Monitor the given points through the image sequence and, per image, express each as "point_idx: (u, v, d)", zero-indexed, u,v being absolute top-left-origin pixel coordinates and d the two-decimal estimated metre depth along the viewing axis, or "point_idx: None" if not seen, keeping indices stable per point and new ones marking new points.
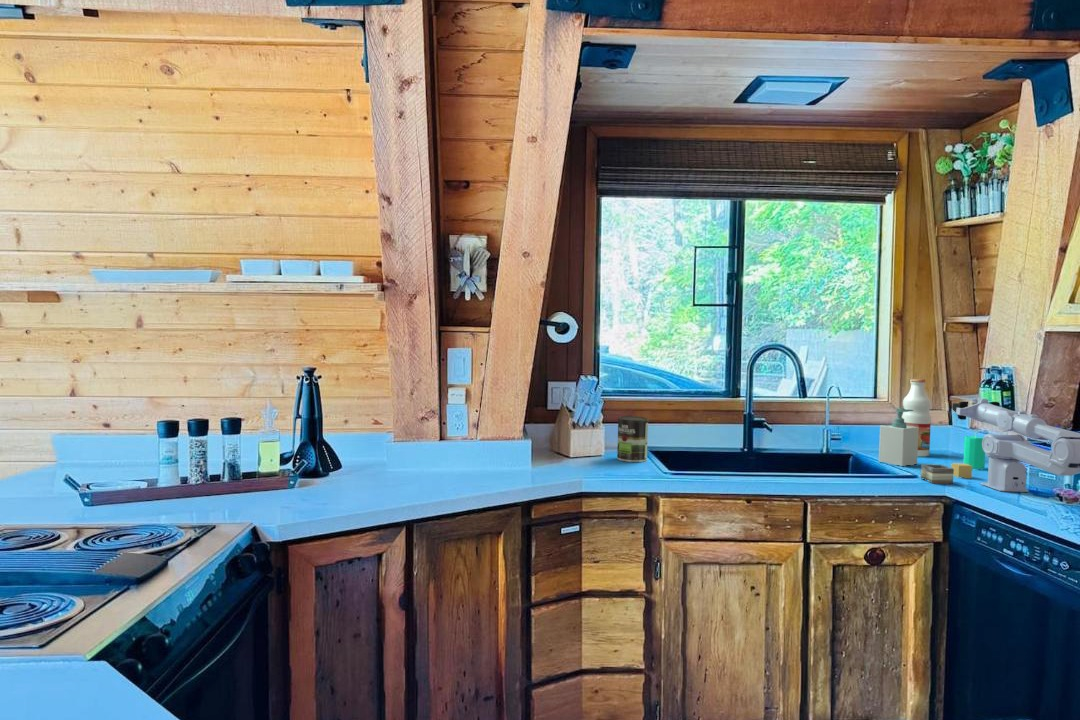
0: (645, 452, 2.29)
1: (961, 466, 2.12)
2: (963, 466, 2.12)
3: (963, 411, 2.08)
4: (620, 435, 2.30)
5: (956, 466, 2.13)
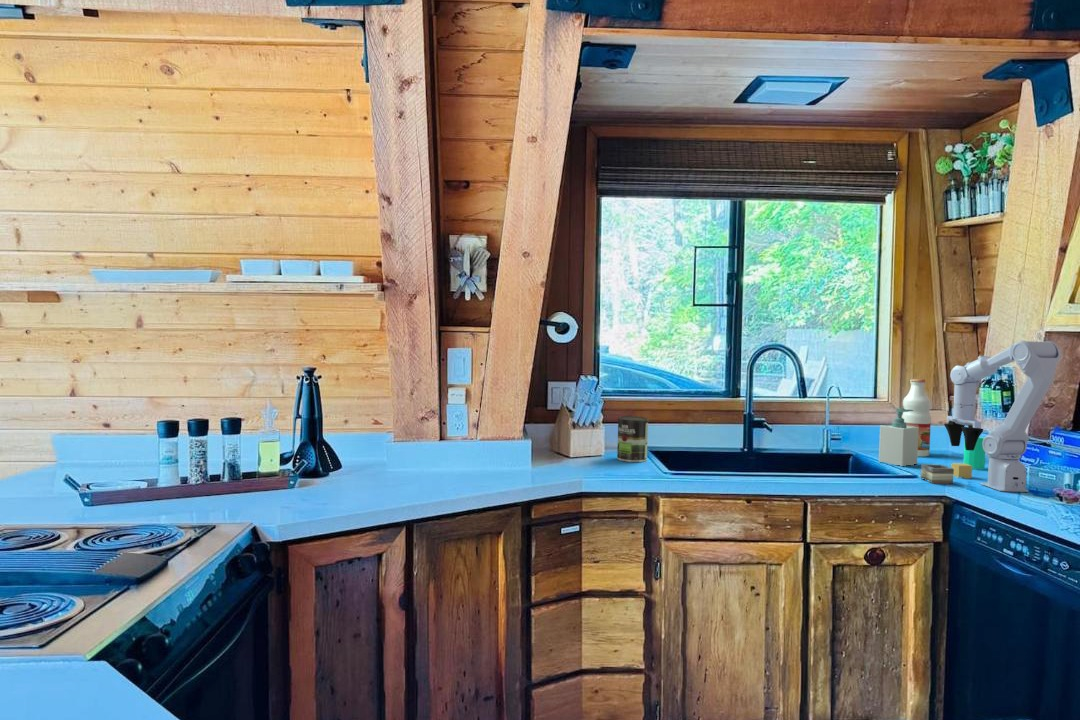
0: (645, 452, 2.29)
1: (961, 466, 2.12)
2: (963, 466, 2.12)
3: (975, 422, 2.07)
4: (620, 435, 2.30)
5: (956, 466, 2.13)
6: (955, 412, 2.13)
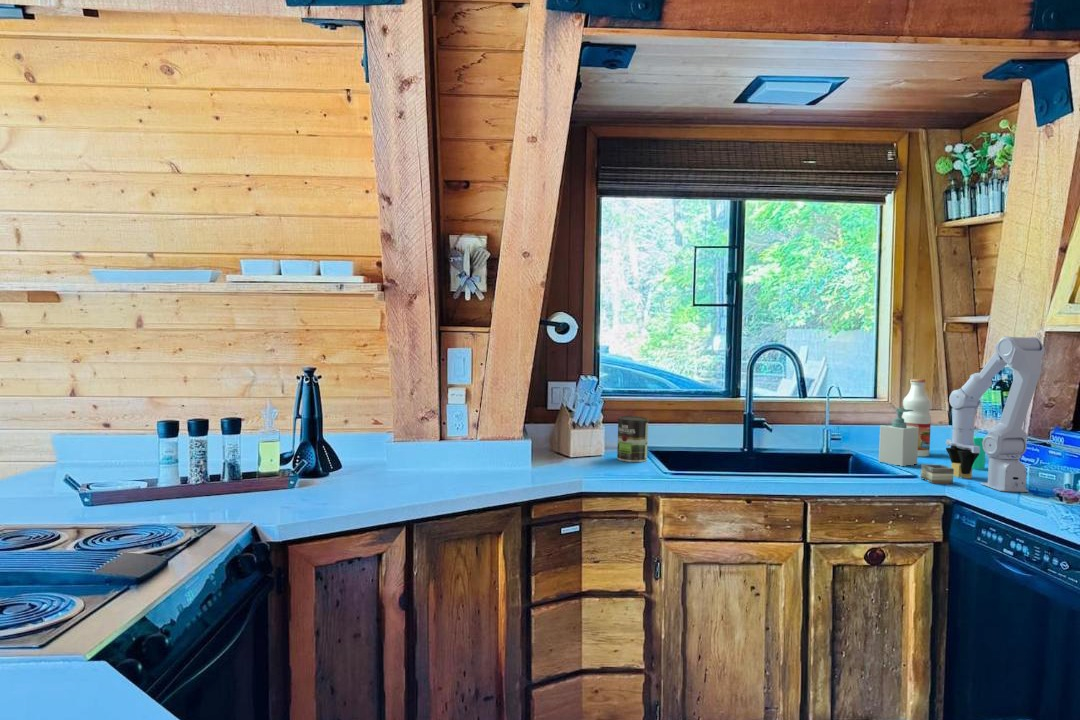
0: (645, 452, 2.29)
1: None
2: None
3: (974, 446, 2.07)
4: (620, 435, 2.30)
5: (956, 466, 2.13)
6: (954, 436, 2.13)
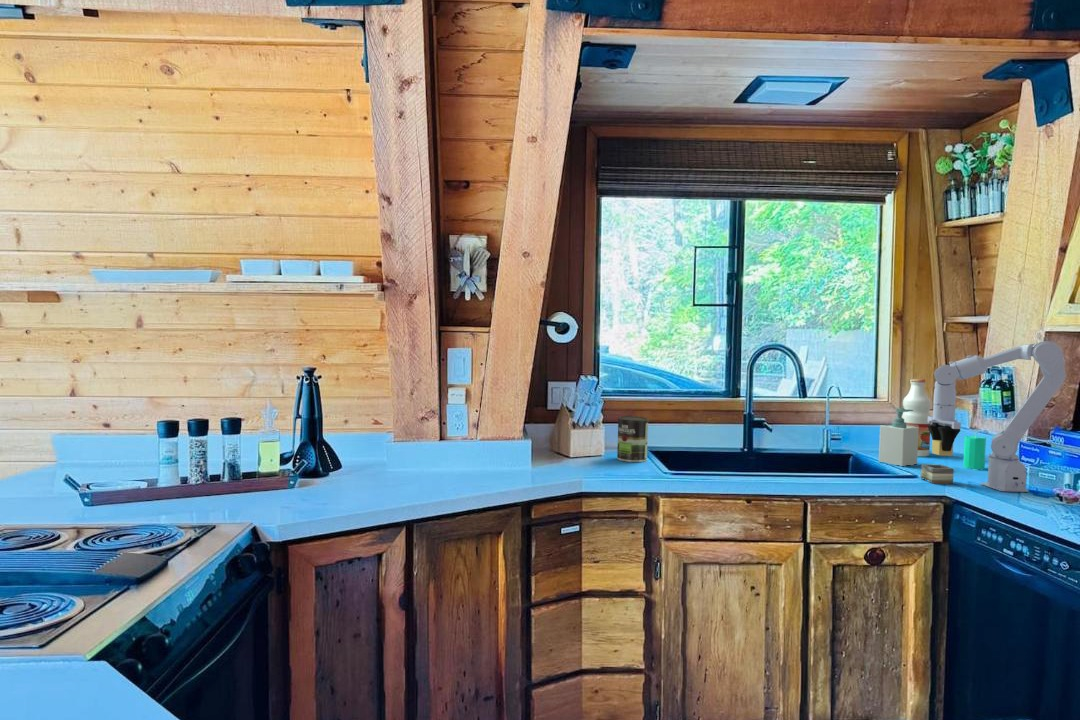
0: (645, 452, 2.29)
1: None
2: None
3: None
4: (620, 435, 2.30)
5: (937, 443, 2.06)
6: (935, 412, 2.06)
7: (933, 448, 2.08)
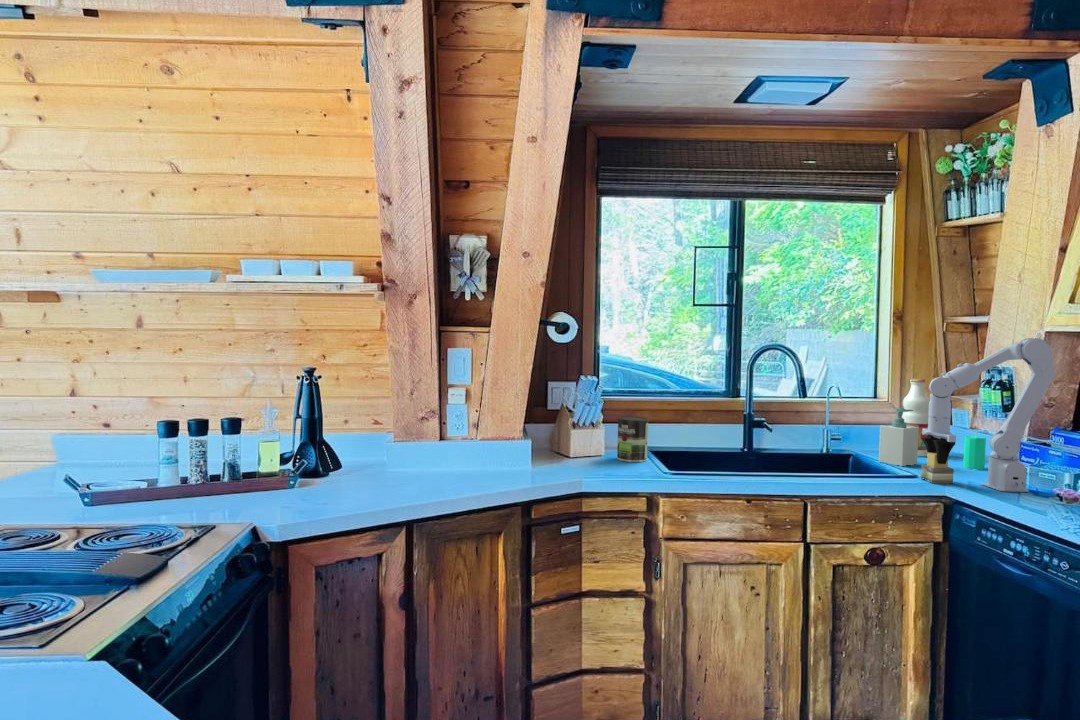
0: (645, 452, 2.29)
1: None
2: None
3: None
4: (620, 435, 2.30)
5: (932, 455, 2.05)
6: (930, 425, 2.05)
7: (928, 461, 2.07)
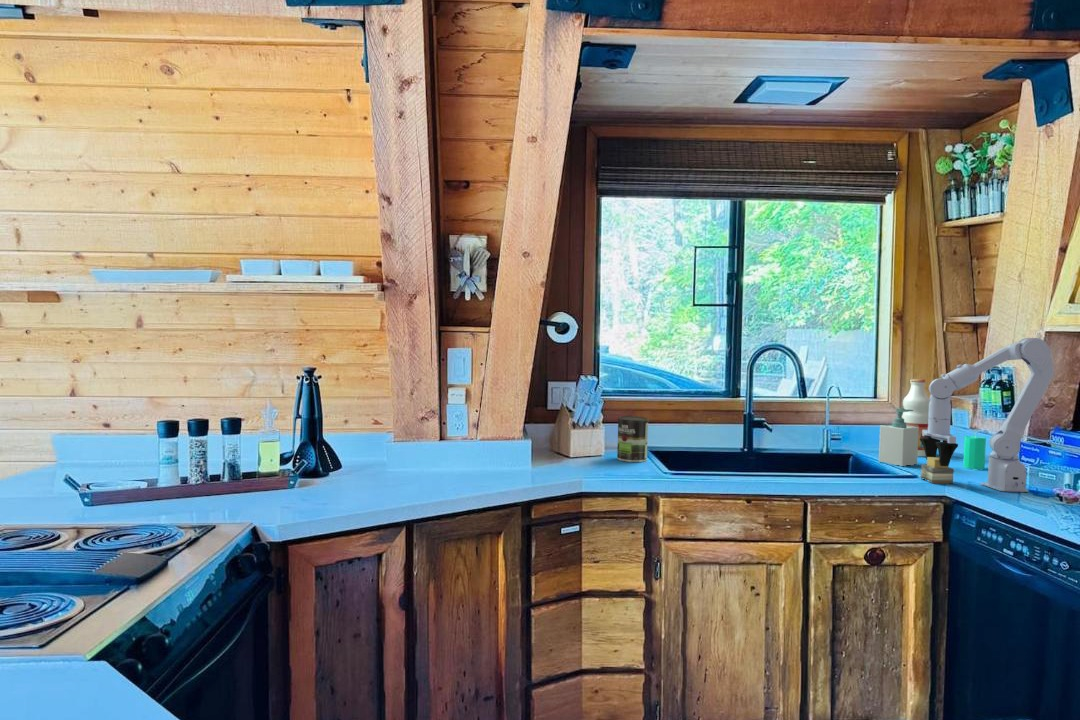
0: (645, 452, 2.29)
1: (937, 460, 2.04)
2: None
3: (949, 437, 1.99)
4: (620, 435, 2.30)
5: (932, 460, 2.05)
6: (930, 426, 2.05)
7: (928, 465, 2.07)
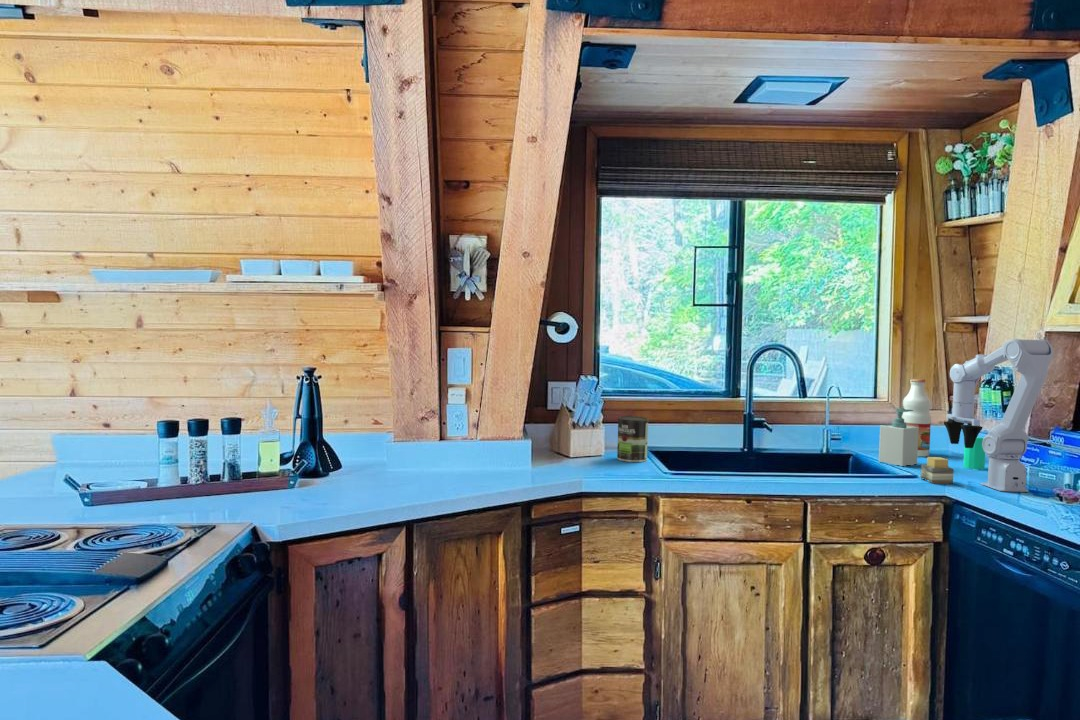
0: (645, 452, 2.29)
1: (937, 460, 2.04)
2: (939, 460, 2.04)
3: None
4: (620, 435, 2.30)
5: (932, 460, 2.05)
6: (954, 410, 2.15)
7: (928, 465, 2.07)
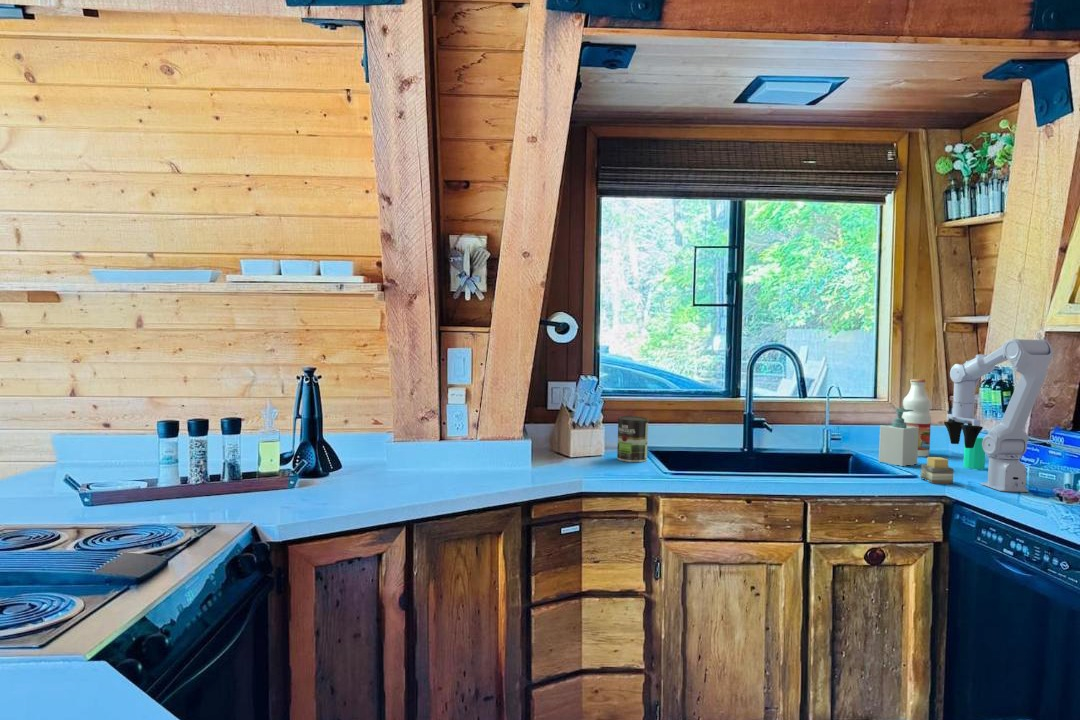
0: (645, 452, 2.29)
1: (937, 460, 2.04)
2: (939, 460, 2.04)
3: (974, 419, 2.09)
4: (620, 435, 2.30)
5: (932, 460, 2.05)
6: (955, 410, 2.15)
7: (928, 465, 2.07)
